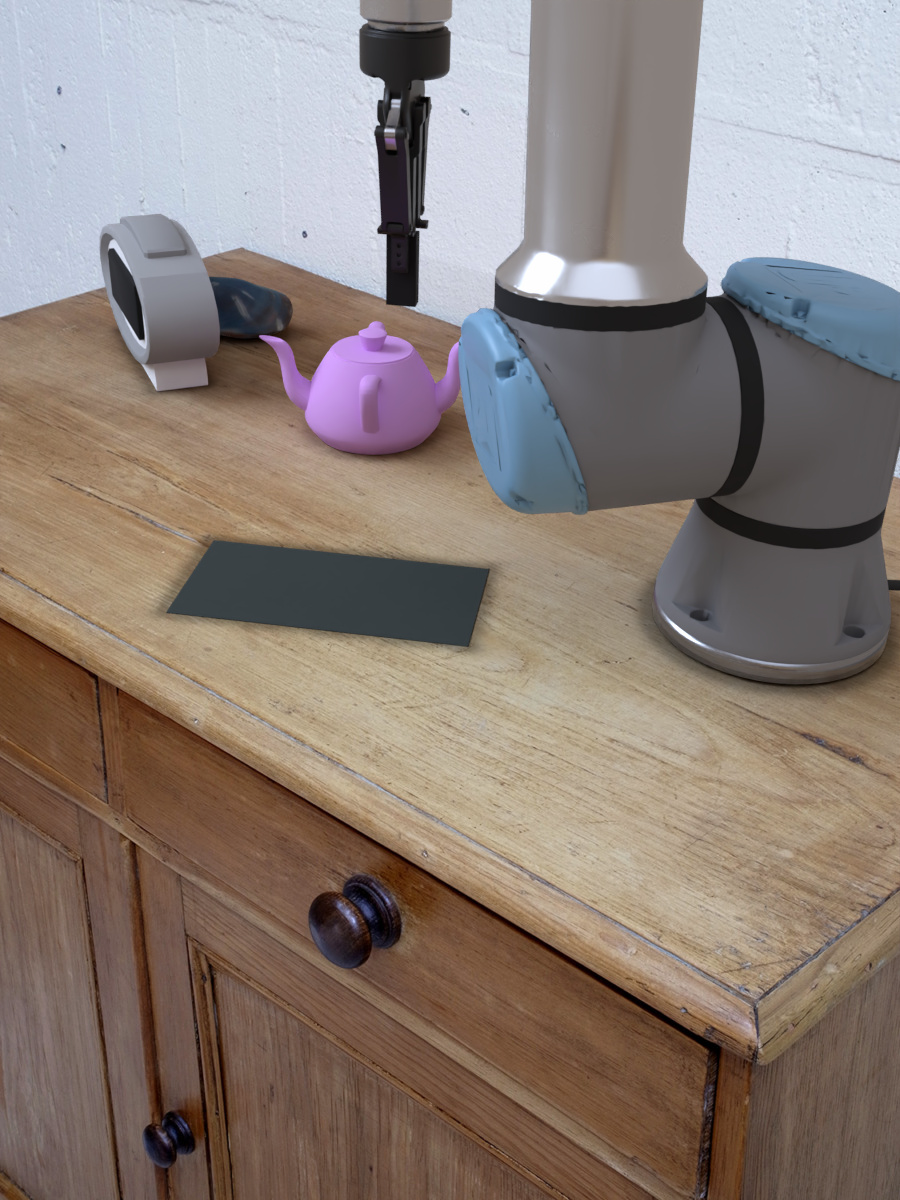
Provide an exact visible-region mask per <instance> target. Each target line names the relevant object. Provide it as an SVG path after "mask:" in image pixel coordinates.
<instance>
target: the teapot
mask: <svg viewBox="0 0 900 1200" xmlns="http://www.w3.org/2000/svg"><path fill="white" fill-rule="evenodd" d="M259 337H260V338H259V339H261V340H262V341H263V342H265V343H266V344H268V345H269V346H271V348H272V349H273V351H274V352H275V353H276V355H277V357H278V360H279V361H278V362H279V364H280V370H281V376H282V382H283V388H284V390H285V392H286V395H287V396H288V398H289V400H290V401H291V402H292V403H293V404H294V405H295V406H296V407H297V408H299V409H301V410H302V411H304V419H305V421H306V424H307V425H308V427H309V429H310V430H311V431H312V432H313V433H314V434H315V435H316V436H317V437H318V439H320V440H321V441H322V442H323V443H325V444H326V445H327V446H329V447H331V448H333V449H336V450H338V451H342V452H346V453H351V454H357V455H358V454H359V455H371V456H372V455H374V456H375V455H391V454H397V453H402V452H405V451H408V450H411V449H413V448H415V447H416V448H417V446H419V445H421V444H423V442H425V441H426V439H428V438H429V437H430V436H431V435H432V433H433V432H434V431H436V429H437V428H438V426H439V424H440V421H441V418H442V414H443V413H444V412H446V411H448V410H449V409H450V408H452V406H453V405H454V403H455V402H456V401H457V398H458V396H459V394H460V391H461V384H460V375H459V361H458V345H459V341H457V342H456V343H454V344H453V345H452V347H451V348H450V351H449V354H448V357H447V366H446V367H447V368H446V372H445V374H444V376H443V377H442V378H441V379H440V380H438V381H437V382H435V379H434V377H433V375H432V373H431V371H430V369H429V367H428V366H427V365H426V363H425V361H424V360H423V358H422V356H421V355H420V353H419V352H418V351H417V349H416V347H414V346H413V345H412V344H411V343H410V342H409V341H407V340H406V339H404V338H401V337H397V336H393V335H388V332H387V331H386V326H385V324H384V323H383V322H381V321H378V320H376V321H372V322H370V324H369V325H368V326H367V328H366V327H365V328H363V329H361V330H359V331H358V334H357V335H351V336H348V337H343V338H341V339H339V340H337V341H336V342H335V343H334V344H332V346H331V347H330V348H329V350H328V351H327V353H326V354H325V356H324V357H323V358H322V360H321V361H320V363H319V365H318V367H317V368H316V370H315V371H314V374H313V376H312V378H311V380H309V379H308V378H306V377H305V376H302V374H301V373H300V372H299V370H298V368H297V365H296V360H295V355H294V352H293V350H292V347H291V346H290V344H289V343H288V342H287V341H285V340H284V339H282V338H280V337H277V336H272V335H269V336H266V335H260V336H259Z"/></svg>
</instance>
